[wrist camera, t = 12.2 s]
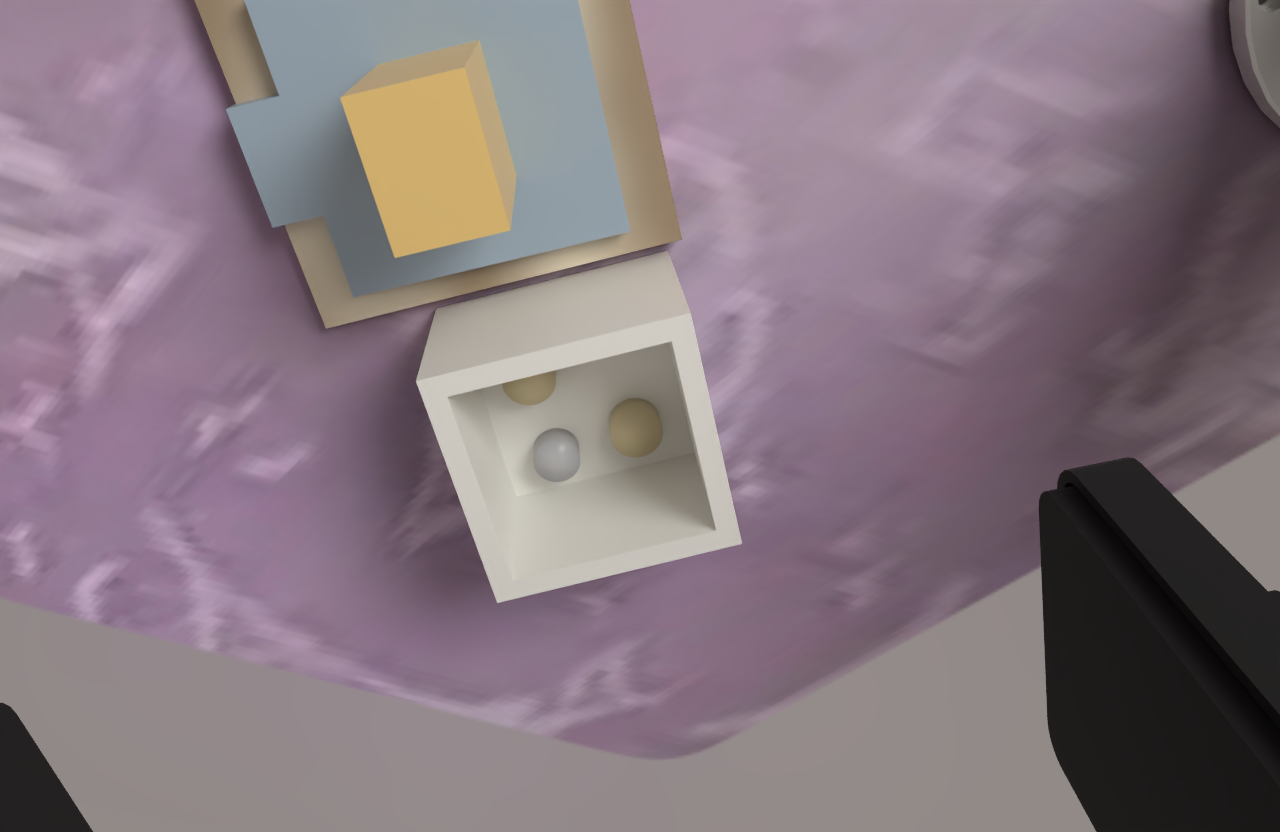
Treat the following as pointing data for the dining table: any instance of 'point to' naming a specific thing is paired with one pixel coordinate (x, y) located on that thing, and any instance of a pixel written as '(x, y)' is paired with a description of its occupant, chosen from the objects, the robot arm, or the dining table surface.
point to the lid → (431, 132)
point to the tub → (578, 427)
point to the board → (649, 225)
